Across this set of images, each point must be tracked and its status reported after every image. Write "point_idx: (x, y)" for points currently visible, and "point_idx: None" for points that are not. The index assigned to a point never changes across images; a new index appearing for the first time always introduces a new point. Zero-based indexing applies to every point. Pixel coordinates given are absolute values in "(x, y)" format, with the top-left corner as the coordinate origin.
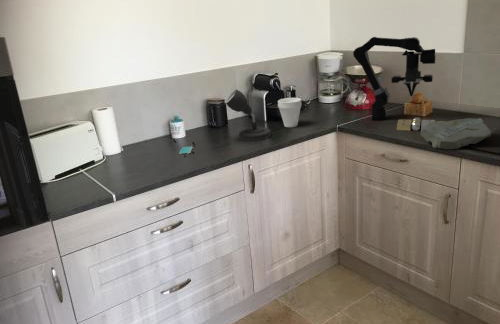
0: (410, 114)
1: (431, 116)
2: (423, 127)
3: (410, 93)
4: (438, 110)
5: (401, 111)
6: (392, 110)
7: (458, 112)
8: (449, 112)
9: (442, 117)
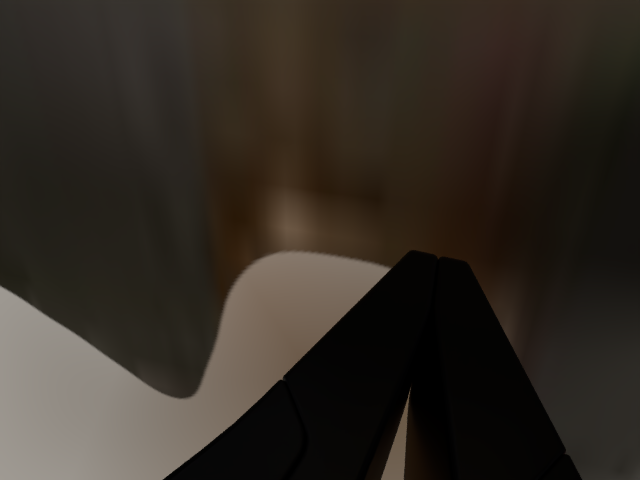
0: None
1: (207, 180)
2: None
3: (465, 317)
4: (174, 368)
5: None
6: (603, 471)
7: (10, 279)
8: (76, 293)
9: (90, 121)
